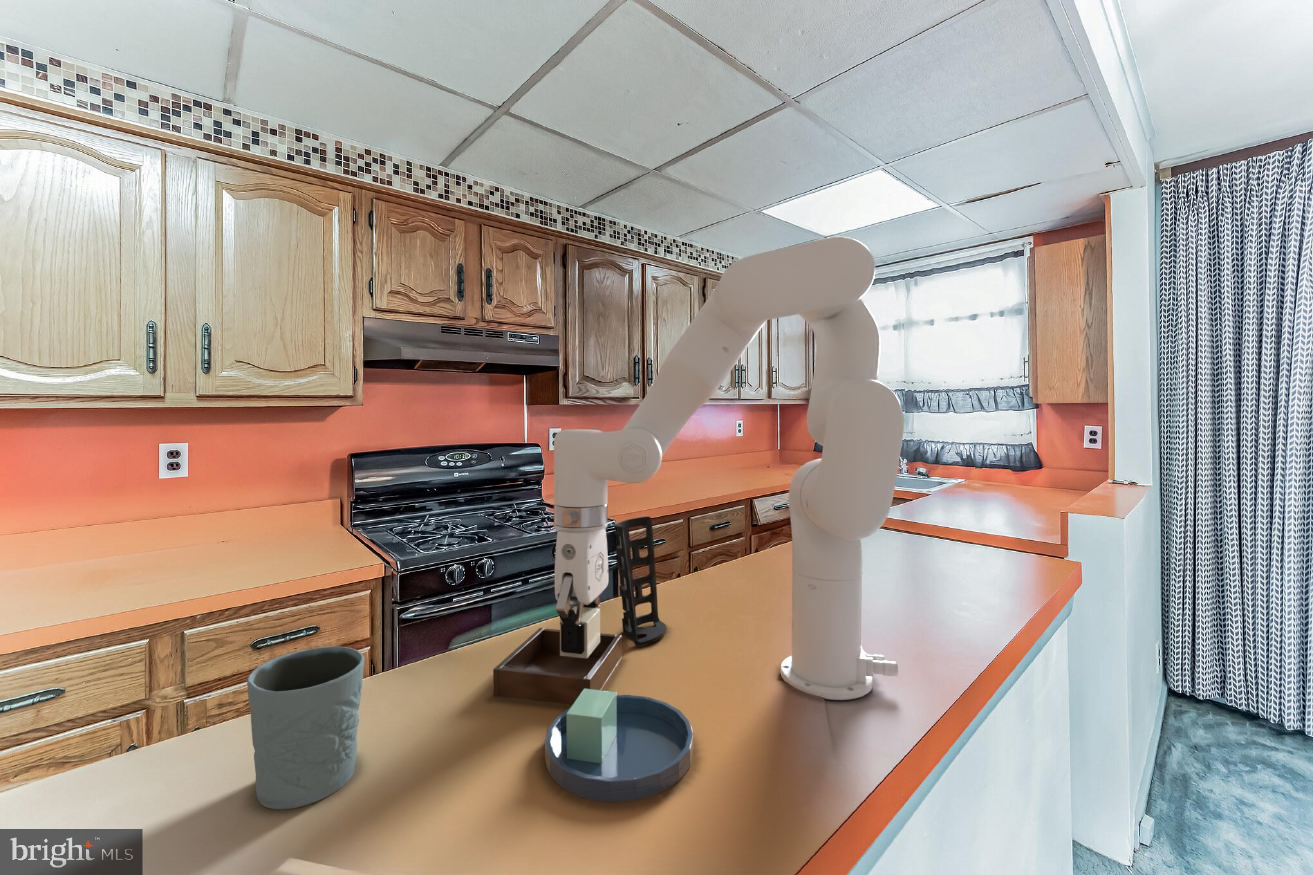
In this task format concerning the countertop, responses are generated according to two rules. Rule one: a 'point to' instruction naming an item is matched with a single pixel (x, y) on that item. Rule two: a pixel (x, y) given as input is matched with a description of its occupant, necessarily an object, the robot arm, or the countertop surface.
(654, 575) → the holder
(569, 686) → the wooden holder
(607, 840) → the countertop surface
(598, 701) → the green block
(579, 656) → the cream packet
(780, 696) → the countertop surface
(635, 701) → the blue round tray
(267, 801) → the grey embossed cup
